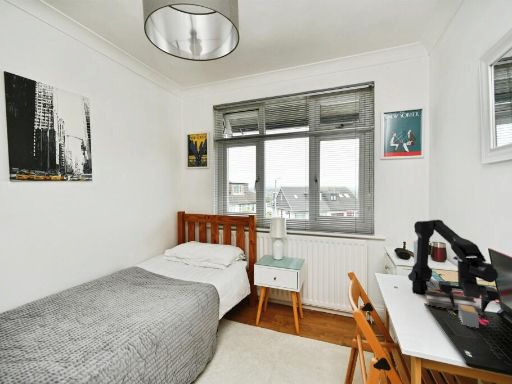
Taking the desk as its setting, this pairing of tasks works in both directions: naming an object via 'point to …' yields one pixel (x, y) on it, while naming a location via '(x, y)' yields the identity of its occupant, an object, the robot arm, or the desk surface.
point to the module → (468, 316)
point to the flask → (415, 251)
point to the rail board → (444, 301)
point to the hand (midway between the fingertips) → (467, 309)
